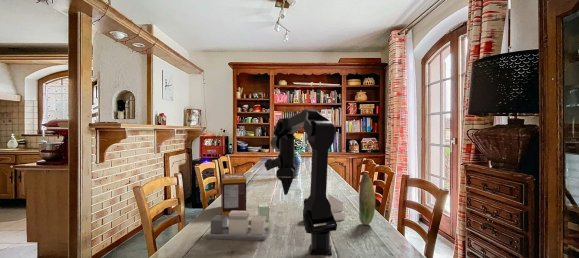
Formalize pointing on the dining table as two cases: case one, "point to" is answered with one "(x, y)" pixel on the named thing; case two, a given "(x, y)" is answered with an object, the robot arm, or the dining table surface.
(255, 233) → the rail
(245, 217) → the block
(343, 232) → the dining table surface
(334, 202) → the white angled block
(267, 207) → the green block
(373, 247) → the dining table surface
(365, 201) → the vegetable
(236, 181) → the supplement box
